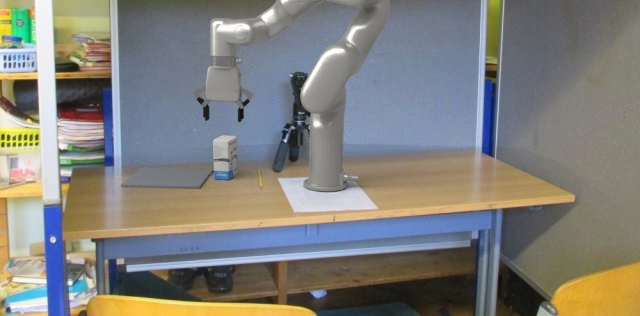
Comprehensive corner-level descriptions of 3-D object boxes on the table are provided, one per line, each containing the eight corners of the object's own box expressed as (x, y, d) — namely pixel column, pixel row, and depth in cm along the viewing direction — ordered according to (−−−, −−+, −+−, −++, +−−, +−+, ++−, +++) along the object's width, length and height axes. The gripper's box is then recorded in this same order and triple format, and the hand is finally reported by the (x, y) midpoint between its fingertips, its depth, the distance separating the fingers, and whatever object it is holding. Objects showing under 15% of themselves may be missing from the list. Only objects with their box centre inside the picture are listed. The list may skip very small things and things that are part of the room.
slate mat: (213, 170, 201) (213, 168, 201) (199, 188, 182) (199, 186, 182) (142, 169, 202) (142, 167, 202) (121, 186, 182) (121, 184, 182)
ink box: (229, 180, 191) (228, 141, 188) (213, 179, 192) (212, 140, 189) (238, 173, 199) (238, 135, 196) (223, 172, 200) (222, 134, 197)
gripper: (255, 62, 191) (254, 119, 195) (196, 59, 191) (197, 117, 195) (251, 64, 184) (251, 124, 188) (190, 62, 184) (191, 121, 188)
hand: (223, 120), depth 191 cm, fingers open, 9 cm apart
